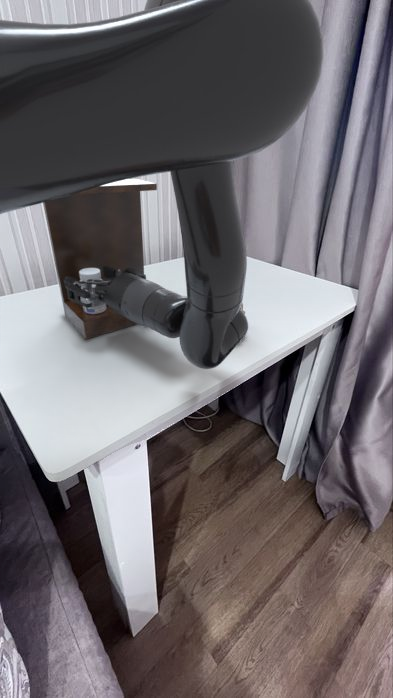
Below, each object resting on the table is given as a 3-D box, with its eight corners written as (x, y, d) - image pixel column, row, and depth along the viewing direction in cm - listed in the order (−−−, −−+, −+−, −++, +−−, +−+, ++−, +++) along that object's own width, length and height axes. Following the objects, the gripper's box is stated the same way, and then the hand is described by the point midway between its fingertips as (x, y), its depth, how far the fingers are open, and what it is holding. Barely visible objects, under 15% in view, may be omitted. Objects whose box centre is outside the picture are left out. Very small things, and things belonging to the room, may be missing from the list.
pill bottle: (111, 308, 70) (107, 270, 65) (94, 316, 67) (88, 276, 62) (95, 302, 72) (90, 265, 67) (78, 310, 69) (71, 271, 64)
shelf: (86, 339, 67) (61, 191, 52) (65, 316, 75) (38, 182, 60) (168, 314, 77) (168, 186, 63) (143, 296, 85) (136, 178, 70)
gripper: (169, 270, 60) (113, 250, 69) (103, 291, 51) (48, 265, 59) (169, 307, 64) (117, 284, 73) (108, 333, 55) (56, 303, 63)
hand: (86, 275), depth 66 cm, fingers open, 8 cm apart
